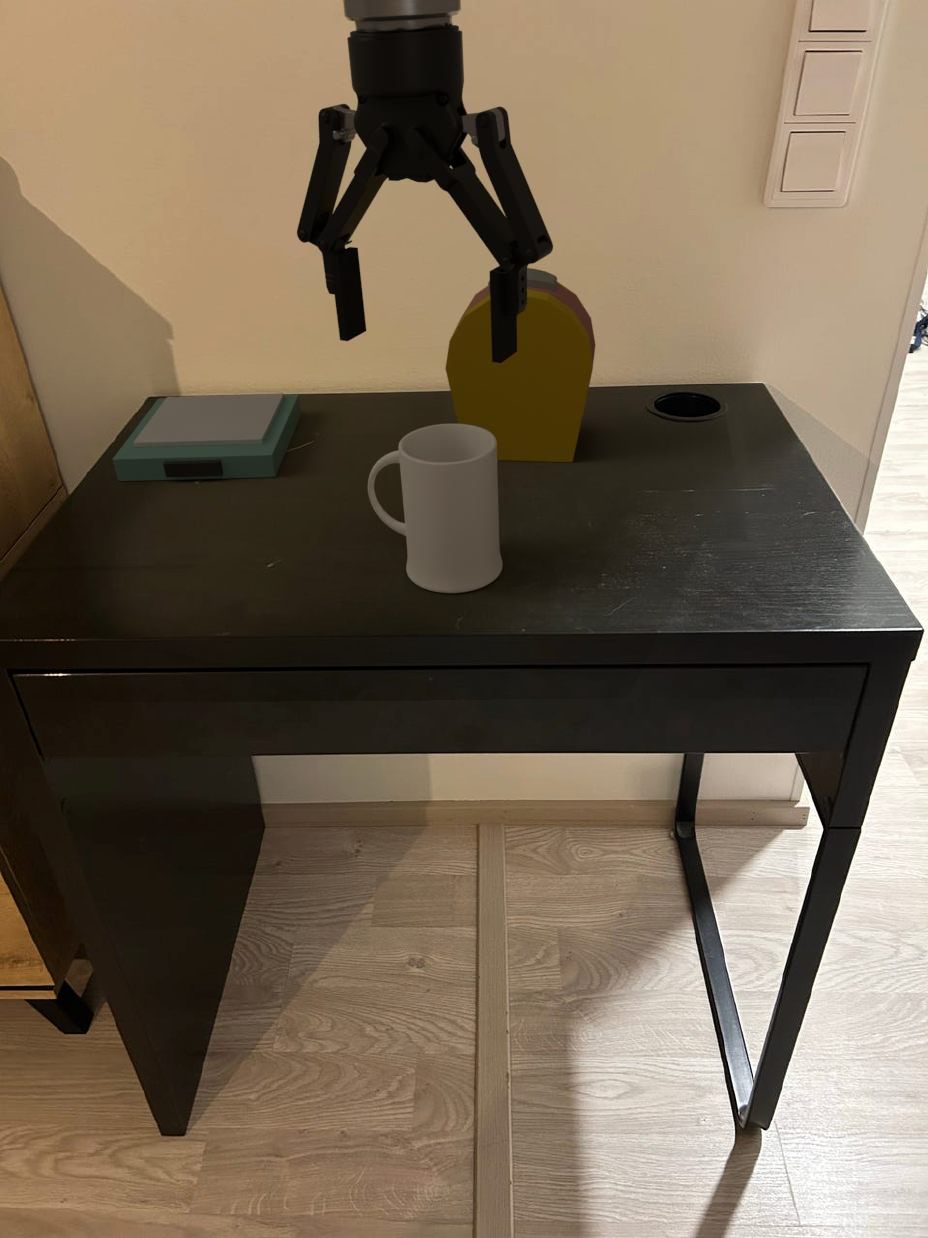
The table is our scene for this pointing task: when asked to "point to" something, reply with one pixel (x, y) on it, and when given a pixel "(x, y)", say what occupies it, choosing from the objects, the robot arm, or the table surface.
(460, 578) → the mug
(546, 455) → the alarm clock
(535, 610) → the table surface
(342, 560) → the table surface
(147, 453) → the scale
